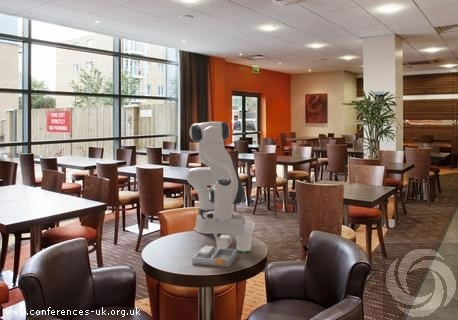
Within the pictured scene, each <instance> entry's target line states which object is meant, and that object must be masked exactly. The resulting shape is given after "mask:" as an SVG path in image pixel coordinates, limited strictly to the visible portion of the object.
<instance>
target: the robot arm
mask: <svg viewBox="0 0 458 320" xmlns="http://www.w3.org/2000/svg"><path fill="white" fill-rule="evenodd" d="M230 129H231V128H230V126H229V124H228V123H227V122H226V121H206V122H205V121H204V122H200V123H199V122H196V123H193V124H191V126H190V127H189V131H188V132H189V137H190V139H191V140H192V141H193V142H194V143H198V159H199V161H200V162H201V163H202V164H203V165H206V167H205V166H202V167H200V166H199V167H192V168H189V170H187V174H186V180H187V183H189V185H191V186H192V188H194V189H195V191H196V193H197V196H198V202H199V203H198V204H199V205H198V206H199V207H198V210H197V211H198V215H197V216H196V219H195V220H196V221H195V227H194V228H193V231H196V232H197V233H199V234H207V235H208V234H210V235H211V234H213V236H214V239H215V242H216V243H217V240H218V238H219V236H218V234H220V235H230V236H231V238H230V239H228V243H230V244H232V243H233V241H232V240H233V238H234V237H235V236H236V235H243V234H244V233H245V225H244V224H245V221H246V218H245V216H243V215H242V214H234V206H233V205H240V204H241V203H242V202H243V201H244V200H245V199H246V192H245V188H244V185H243V183H242V181H241V178H240V175H239V172H238V169H237V168H238V167H237V166H236V162H235V160H234V157H233V156H232V155H231V154H230V153H228V151H227V150H226V148H225V143H224V141H226V140H228V138H229V136H230V133H231V130H230ZM209 186H210V187H209ZM208 187H209V188H208Z"/></svg>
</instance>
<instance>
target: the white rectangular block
mask: <svg viewBox="0 0 458 320" xmlns="http://www.w3.org/2000/svg"><path fill="white" fill-rule="evenodd" d="M230 238H231V236H230V234H220V236H218V240H217V242H216V248H217V249H228V247H229V246H230V245H231V243H228V239H230Z"/></svg>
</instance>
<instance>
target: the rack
mask: <svg viewBox="0 0 458 320" xmlns="http://www.w3.org/2000/svg"><path fill="white" fill-rule="evenodd" d="M237 256H238V252H237V249H236V248H227V249H217V247H215V245H214V246H213V245H204V246H201V247H200V249H199V250H198V251H197V252H196V253H195V254H194V255H193V256H192V257H191V264H192V265H199V266H200V265H201V266H212V267H225V268H230V267H231V266H232V265H233V262H234V261H235V260H236V258H237Z"/></svg>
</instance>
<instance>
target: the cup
mask: <svg viewBox="0 0 458 320" xmlns="http://www.w3.org/2000/svg"><path fill="white" fill-rule="evenodd" d="M244 225H245V233H244V234H243V235H235V238H236V239H235V240H236V245H235V246H236V248H235V249H237V253H243V254H246V253H247V252H248V253H251V250H252V244H251V243H252V236H253V233H254V230H255V228H256V226H255V225H256V224H255V223H254V222H252V221H246V220H245V224H244Z"/></svg>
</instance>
